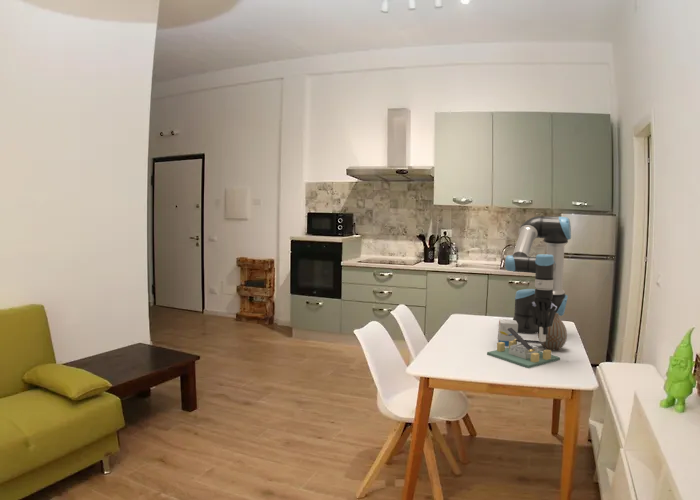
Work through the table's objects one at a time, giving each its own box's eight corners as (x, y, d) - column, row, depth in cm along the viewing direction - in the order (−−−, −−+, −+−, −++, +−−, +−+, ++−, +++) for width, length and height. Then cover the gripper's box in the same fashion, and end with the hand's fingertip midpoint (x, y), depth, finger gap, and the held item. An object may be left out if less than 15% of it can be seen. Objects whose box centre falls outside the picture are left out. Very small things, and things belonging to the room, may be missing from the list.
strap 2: (517, 340, 229) (517, 338, 229) (544, 343, 217) (544, 340, 217) (513, 341, 227) (513, 339, 227) (540, 344, 215) (540, 341, 215)
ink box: (517, 347, 236) (518, 323, 235) (499, 345, 238) (500, 322, 237) (514, 342, 245) (516, 319, 244) (497, 341, 246) (498, 318, 245)
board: (518, 347, 235) (518, 337, 235) (559, 359, 217) (560, 349, 217) (487, 354, 222) (487, 344, 222) (528, 368, 204) (529, 356, 204)
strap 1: (511, 329, 222) (512, 327, 221) (534, 351, 212) (535, 349, 212) (506, 329, 220) (507, 328, 219) (529, 352, 210) (530, 350, 210)
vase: (537, 350, 232) (539, 314, 230) (536, 343, 244) (538, 309, 242) (567, 353, 227) (569, 317, 226) (565, 346, 239) (567, 311, 238)
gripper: (525, 287, 218) (524, 339, 219) (552, 291, 207) (550, 345, 208) (535, 286, 222) (534, 337, 223) (562, 290, 211) (560, 343, 212)
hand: (542, 341), depth 216 cm, fingers closed
